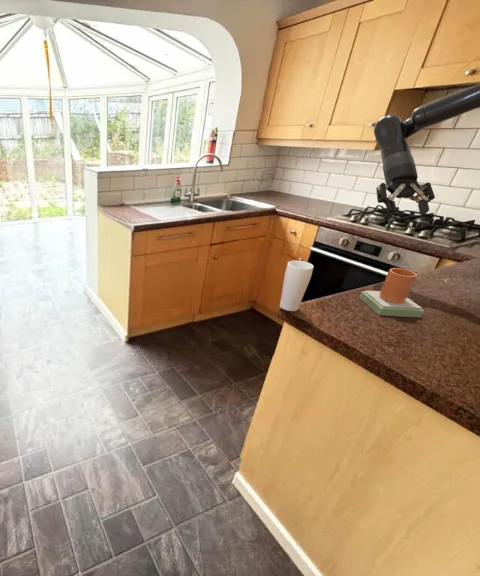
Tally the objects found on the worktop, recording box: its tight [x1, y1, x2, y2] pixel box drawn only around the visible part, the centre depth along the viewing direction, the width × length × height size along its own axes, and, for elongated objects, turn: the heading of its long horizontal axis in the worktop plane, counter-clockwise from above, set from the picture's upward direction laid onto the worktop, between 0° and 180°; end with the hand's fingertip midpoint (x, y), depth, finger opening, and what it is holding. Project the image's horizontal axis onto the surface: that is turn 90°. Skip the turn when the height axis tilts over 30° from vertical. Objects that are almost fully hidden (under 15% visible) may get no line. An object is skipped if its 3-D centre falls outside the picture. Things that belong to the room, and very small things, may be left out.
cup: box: [379, 267, 418, 304], centre depth 97 cm, size 6×6×9 cm
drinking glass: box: [279, 260, 314, 312], centre depth 98 cm, size 7×7×15 cm
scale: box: [358, 290, 425, 318], centre depth 100 cm, size 11×11×3 cm
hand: (408, 213), depth 100 cm, fingers open, 8 cm apart
